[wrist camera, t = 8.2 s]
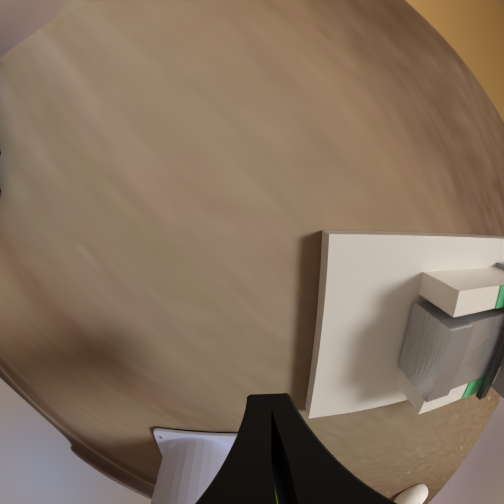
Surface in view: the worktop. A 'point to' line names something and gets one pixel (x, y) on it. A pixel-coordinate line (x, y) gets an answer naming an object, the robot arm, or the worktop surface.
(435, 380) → the grey block with bar
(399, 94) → the worktop surface
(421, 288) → the architectural block model
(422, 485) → the garlic bulb
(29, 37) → the worktop surface
